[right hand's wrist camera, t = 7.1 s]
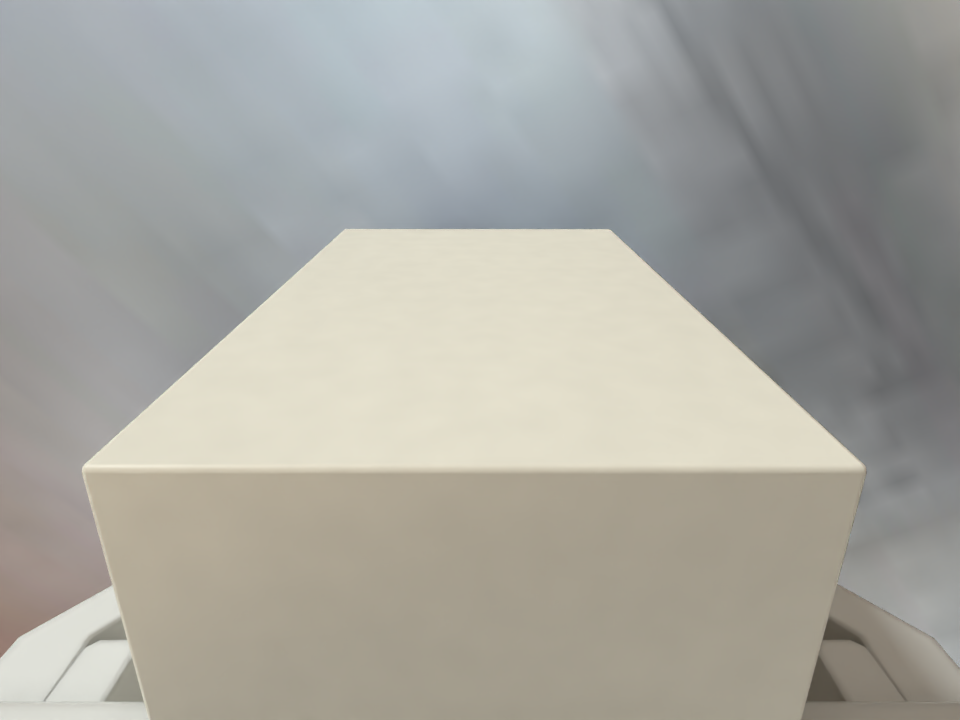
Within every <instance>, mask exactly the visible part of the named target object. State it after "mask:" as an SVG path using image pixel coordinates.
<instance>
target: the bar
mask: <svg viewBox="0 0 960 720" xmlns="http://www.w3.org/2000/svg"><path fill="white" fill-rule="evenodd" d="M82 475H83V478H84V482H85V486H86V489H87V493H88V497H89V501H90V504H91V508H92V512H93V515H94V519H95V523H96V526H97V530H98V534H99V538H100V541H101V545H102V549H103V552H104V556H105V560H106V563H107V567H108V571H109V575H110V578H111V582H112V586H113V589H114V593H115V597H116V600H117V604H118V608H119V611H120V615H121V619H122V623H123V626H124V630H125V634H126V637H127V641H128V645H129V648H130V652H131V656H132V660H133V663H134V667H135V671H136V674H137V678H138V682H139V685H140V689H141V693H142V696H143V700H144V704H145V708H146V711H147V715H148V719H149V720H801V718H802V715H803V711H804V707H805V703H806V700H807V696H808V692H809V688H810V684H811V681H812V677H813V673H814V669H815V666H816V662H817V658H818V654H819V651H820V647H821V643H822V639H823V635H824V632H825V628H826V624H827V620H828V617H829V613H830V609H831V605H832V601H833V598H834V594H835V590H836V586H837V583H838V579H839V575H840V571H841V567H842V564H843V560H844V556H845V552H846V549H847V545H848V541H849V537H850V534H851V530H852V526H853V522H854V518H855V515H856V511H857V507H858V503H859V500H860V496H861V492H862V488H863V484H864V481H865V477H866V467H865V465H864V464H863V463H862V462H861V461H860V460H859V459H858V458H857V457H856V456H854V455H853V454H852V453H851V452H850V451H849V450H848V449H847V448H846V447H845V446H844V445H843V444H841V443H840V442H839V441H838V440H837V439H836V438H835V437H834V436H833V435H832V434H831V433H830V432H828V431H827V430H826V429H825V428H824V427H823V426H822V425H821V424H820V423H819V422H818V421H817V420H816V419H814V418H813V417H812V416H811V415H810V414H809V413H808V412H807V411H806V410H805V409H804V408H803V407H801V406H800V405H799V404H798V403H797V402H796V401H795V400H794V399H793V398H792V397H791V396H790V395H788V394H787V393H786V392H785V391H784V390H783V389H782V388H781V387H780V386H779V385H778V384H777V383H776V382H774V381H773V380H772V379H771V378H770V377H769V376H768V375H767V374H766V373H765V372H764V371H763V370H761V369H760V368H759V367H758V366H757V365H756V364H755V363H754V362H753V361H752V360H751V359H750V358H748V357H747V356H746V355H745V354H744V353H743V352H742V351H741V350H740V349H739V348H738V347H737V346H736V345H734V344H733V343H732V342H731V341H730V340H729V339H728V338H727V337H726V336H725V335H724V334H723V333H721V332H720V331H719V330H718V329H717V328H716V327H715V326H714V325H713V324H712V323H711V322H710V321H708V320H707V319H706V318H705V317H704V316H703V315H702V314H701V313H700V312H699V311H698V310H697V309H696V308H694V307H693V306H692V305H691V304H690V303H689V302H688V301H687V300H686V299H685V298H684V297H683V296H681V295H680V294H679V293H678V292H677V291H676V290H675V289H674V288H673V287H672V286H671V285H670V284H668V283H667V282H666V281H665V280H664V279H663V278H662V277H661V276H660V275H659V274H658V273H657V272H656V271H654V270H653V269H652V268H651V267H650V266H649V265H648V264H647V263H646V262H645V261H644V260H643V259H641V258H640V257H639V256H638V255H637V254H636V253H635V252H634V251H633V250H632V249H631V248H630V247H628V246H627V245H626V244H625V243H624V242H623V241H622V240H621V239H620V238H619V237H618V236H617V235H616V234H614V233H613V232H612V231H611V230H609V229H345V230H344V231H342V232H341V233H340V234H339V235H338V236H337V237H336V238H335V239H334V240H332V241H331V242H330V243H329V244H328V245H327V246H326V247H325V248H324V249H322V250H321V251H320V252H319V253H318V254H317V255H316V256H315V257H314V258H313V259H311V260H310V261H309V262H308V263H307V264H306V265H305V266H304V267H303V268H301V269H300V270H299V271H298V272H297V273H296V274H295V275H294V276H293V277H291V278H290V279H289V280H288V281H287V282H286V283H285V284H284V285H283V286H282V287H280V288H279V289H278V290H277V291H276V292H275V293H274V294H273V295H272V296H270V297H269V298H268V299H267V300H266V301H265V302H264V303H263V304H262V305H260V306H259V307H258V308H257V309H256V310H255V311H254V312H253V313H252V314H251V315H249V316H248V317H247V318H246V319H245V320H244V321H243V322H242V323H241V324H239V325H238V326H237V327H236V328H235V329H234V330H233V331H232V332H231V333H229V334H228V335H227V336H226V337H225V338H224V339H223V340H222V341H221V342H220V343H218V344H217V345H216V346H215V347H214V348H213V349H212V350H211V351H210V352H208V353H207V354H206V355H205V356H204V357H203V358H202V359H201V360H200V361H198V362H197V363H196V364H195V365H194V366H193V367H192V368H191V369H190V370H189V371H187V372H186V373H185V374H184V375H183V376H182V377H181V378H180V379H179V380H177V381H176V382H175V383H174V384H173V385H172V386H171V387H170V388H169V389H168V390H166V391H165V392H164V393H163V394H162V395H161V396H160V397H159V398H158V399H156V400H155V401H154V402H153V403H152V404H151V405H150V406H149V407H148V408H146V409H145V410H144V411H143V412H142V413H141V414H140V415H139V416H138V417H137V418H135V419H134V420H133V421H132V422H131V423H130V424H129V425H128V426H127V427H125V428H124V429H123V430H122V431H121V432H120V433H119V434H118V435H117V436H115V437H114V438H113V439H112V440H111V441H110V442H109V443H108V444H107V445H106V446H104V447H103V448H102V449H101V450H100V451H99V452H98V453H97V454H96V455H94V456H93V457H92V458H91V459H90V460H89V461H88V462H87V463H86V464H84V466H83V469H82Z"/></svg>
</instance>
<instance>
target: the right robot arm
mask: <svg viewBox="0 0 960 720" xmlns="http://www.w3.org/2000/svg"><path fill="white" fill-rule="evenodd" d="M0 720H149V719H148V715H147V711H146V708H145V704H144V700H143V696H142V693H141V689H140V685H139V682H138V678H137V674H136V671H135V667H134V663H133V660H132V656H131V652H130V648H129V645H128V641H127V637H126V634H125V630H124V626H123V623H122V619H121V615H120V611H119V608H118V604H117V600H116V597H115V593H114V589H113V586H111V587H109V588H107V589H105V590H103V591H102V592H100V593H98V594H96V595H94V596H93V597H91V598H89V599H87V600H85V601H84V602H82V603H80V604H78V605H76V606H75V607H73V608H71V609H69V610H67V611H65V612H64V613H62V614H60V615H58V616H56V617H55V618H53V619H51V620H49V621H47V622H46V623H44V624H42V625H40V626H38V627H37V628H35V629H33V630H31V631H29V632H28V633H26V634H24V635H22V636H20V637H19V638H18V639H17V640H16V641H15V642H14V644H13V645H12V646H11V647H10V648H9V649H8V650H7V652H6V653H5V654H4V655H3V656H2V657H1V658H0ZM801 720H960V668H959V667H958V666H957V664H956V663H955V662H954V661H953V660H952V659H951V657H950V656H949V655H948V654H947V653H946V652H945V650H944V649H943V648H942V647H941V646H940V645H939V643H938V642H937V641H936V640H935V639H934V638H933V637H931V636H929V635H927V634H926V633H924V632H922V631H920V630H919V629H917V628H915V627H913V626H911V625H910V624H908V623H906V622H904V621H902V620H901V619H899V618H897V617H895V616H894V615H892V614H890V613H888V612H886V611H885V610H883V609H881V608H879V607H878V606H876V605H874V604H872V603H870V602H869V601H867V600H865V599H863V598H862V597H860V596H858V595H856V594H854V593H853V592H851V591H849V590H847V589H845V588H844V587H842V586H840V585H838V584H837V586H836V590H835V594H834V598H833V601H832V605H831V609H830V613H829V617H828V620H827V624H826V628H825V632H824V635H823V639H822V643H821V647H820V651H819V654H818V658H817V662H816V666H815V669H814V673H813V677H812V681H811V684H810V688H809V692H808V696H807V700H806V703H805V707H804V711H803V715H802V718H801Z"/></svg>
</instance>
